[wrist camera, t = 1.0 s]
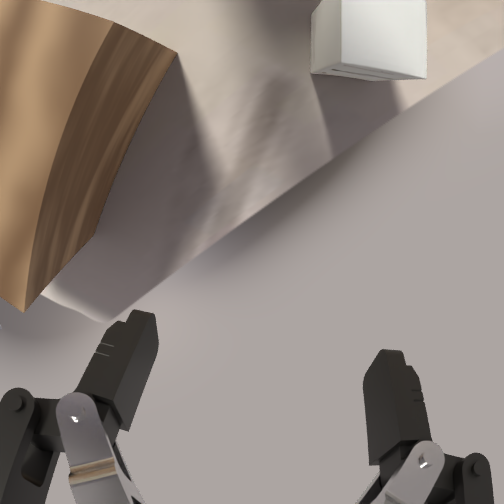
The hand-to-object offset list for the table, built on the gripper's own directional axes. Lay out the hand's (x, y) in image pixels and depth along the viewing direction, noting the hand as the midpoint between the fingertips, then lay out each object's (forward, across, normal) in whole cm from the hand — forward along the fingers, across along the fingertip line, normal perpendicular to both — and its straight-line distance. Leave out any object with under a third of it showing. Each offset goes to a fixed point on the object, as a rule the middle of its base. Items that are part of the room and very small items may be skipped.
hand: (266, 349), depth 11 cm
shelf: (+26, +25, 0) cm, 36 cm away
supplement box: (+30, -5, -12) cm, 32 cm away
